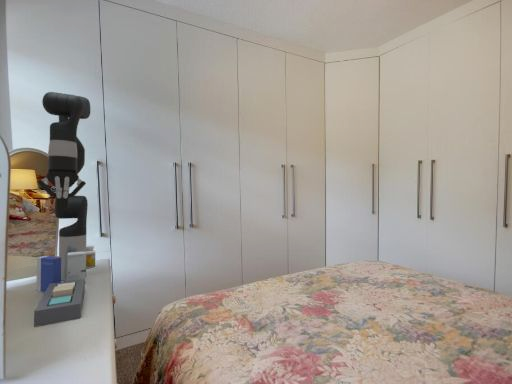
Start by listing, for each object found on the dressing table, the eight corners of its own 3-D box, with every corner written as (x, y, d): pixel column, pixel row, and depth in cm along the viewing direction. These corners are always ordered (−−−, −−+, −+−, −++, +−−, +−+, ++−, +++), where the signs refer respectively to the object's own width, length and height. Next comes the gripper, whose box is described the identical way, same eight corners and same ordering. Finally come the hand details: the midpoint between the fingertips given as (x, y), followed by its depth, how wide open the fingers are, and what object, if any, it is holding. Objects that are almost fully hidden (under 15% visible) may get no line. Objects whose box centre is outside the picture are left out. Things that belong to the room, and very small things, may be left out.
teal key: (51, 310, 77) (51, 298, 77) (71, 307, 80) (71, 295, 80) (48, 317, 73) (48, 304, 73) (69, 313, 75) (69, 301, 75)
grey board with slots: (49, 295, 90) (49, 283, 90) (84, 290, 95) (84, 279, 95) (34, 326, 70) (34, 311, 70) (80, 318, 75) (80, 303, 75)
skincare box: (65, 288, 97) (66, 254, 97) (66, 284, 101) (66, 252, 101) (86, 285, 101) (86, 252, 101) (85, 282, 104) (86, 250, 104)
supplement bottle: (78, 268, 122) (78, 247, 123) (87, 265, 128) (87, 244, 128) (89, 269, 122) (89, 247, 122) (97, 265, 127) (98, 245, 127)
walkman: (61, 290, 95) (61, 256, 95) (53, 292, 93) (53, 258, 93) (44, 287, 97) (44, 254, 98) (36, 290, 95) (36, 256, 95)
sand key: (54, 298, 83) (54, 286, 83) (73, 295, 86) (73, 284, 86) (52, 303, 79) (52, 291, 79) (72, 300, 82) (72, 288, 82)
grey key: (57, 294, 89) (58, 284, 89) (75, 292, 92) (75, 282, 92) (55, 299, 85) (55, 288, 85) (74, 297, 88) (74, 286, 88)
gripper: (87, 158, 93) (87, 209, 93) (39, 155, 86) (38, 209, 86) (87, 156, 86) (86, 210, 86) (34, 153, 80) (33, 211, 80)
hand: (62, 210), depth 86 cm, fingers closed
